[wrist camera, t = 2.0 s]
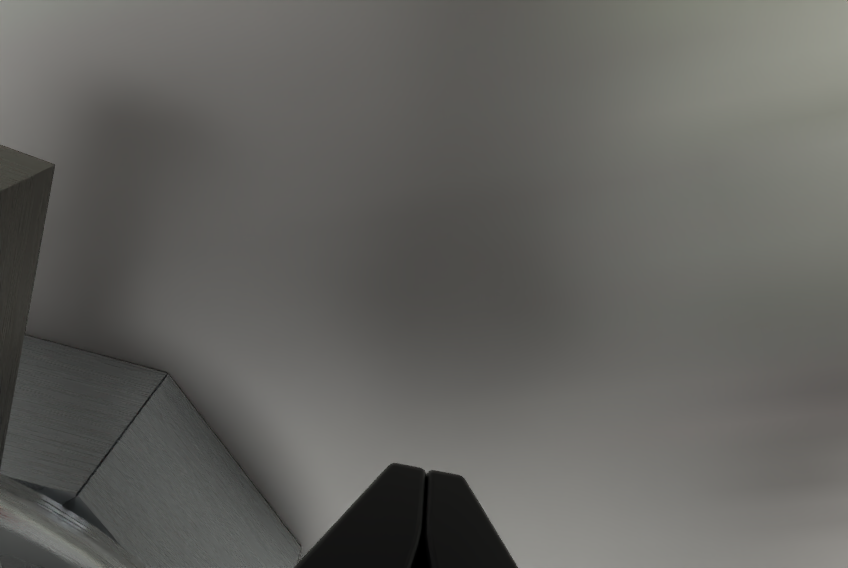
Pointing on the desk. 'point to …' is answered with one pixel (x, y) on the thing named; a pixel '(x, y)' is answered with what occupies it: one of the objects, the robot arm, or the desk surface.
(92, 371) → the pot
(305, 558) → the robot arm
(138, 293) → the desk surface
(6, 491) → the lid
